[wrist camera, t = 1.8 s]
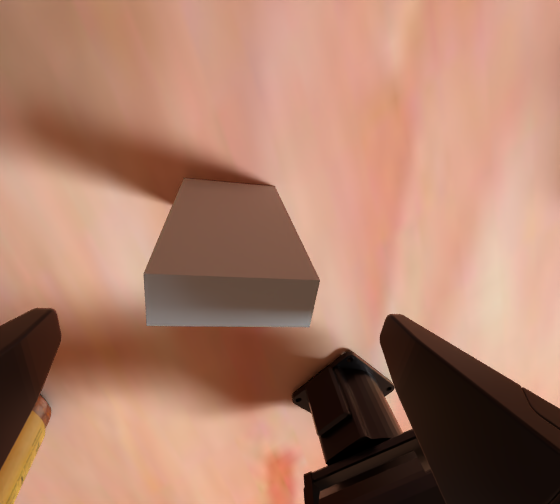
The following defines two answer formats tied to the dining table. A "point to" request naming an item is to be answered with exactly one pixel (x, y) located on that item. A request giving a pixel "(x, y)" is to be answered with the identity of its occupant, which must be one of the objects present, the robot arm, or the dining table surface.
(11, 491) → the sauce bottle
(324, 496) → the robot arm
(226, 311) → the domino
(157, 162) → the dining table surface
